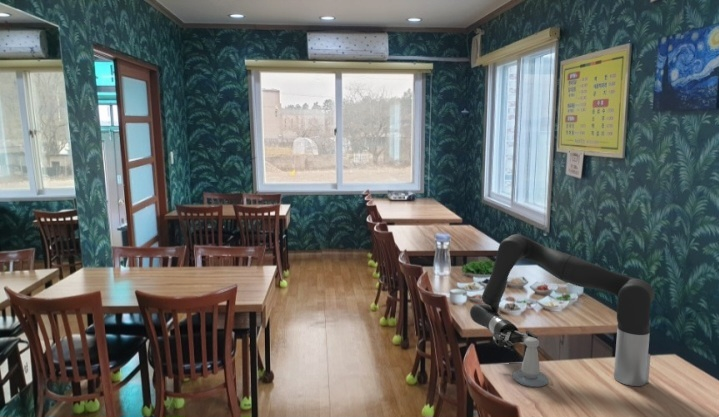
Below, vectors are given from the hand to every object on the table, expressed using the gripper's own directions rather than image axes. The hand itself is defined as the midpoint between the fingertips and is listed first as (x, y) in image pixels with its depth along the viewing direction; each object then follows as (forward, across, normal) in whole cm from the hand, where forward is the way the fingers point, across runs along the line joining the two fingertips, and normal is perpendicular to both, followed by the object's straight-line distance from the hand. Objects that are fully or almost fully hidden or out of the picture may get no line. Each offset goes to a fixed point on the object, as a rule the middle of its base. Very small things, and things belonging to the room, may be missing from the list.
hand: (525, 347), depth 167 cm
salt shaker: (+4, 0, +9) cm, 9 cm away
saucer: (+4, 0, +10) cm, 10 cm away
